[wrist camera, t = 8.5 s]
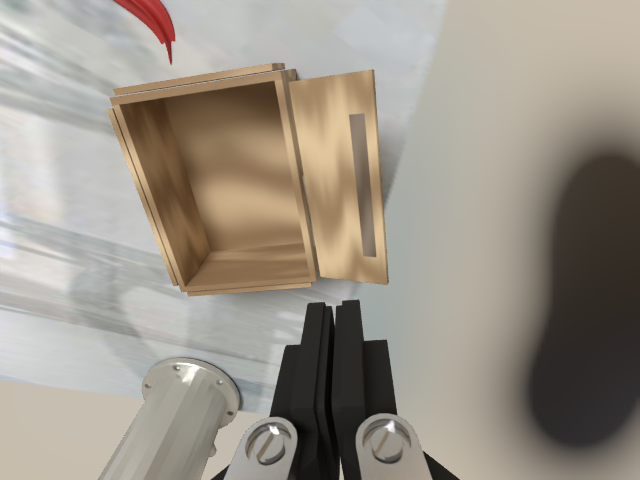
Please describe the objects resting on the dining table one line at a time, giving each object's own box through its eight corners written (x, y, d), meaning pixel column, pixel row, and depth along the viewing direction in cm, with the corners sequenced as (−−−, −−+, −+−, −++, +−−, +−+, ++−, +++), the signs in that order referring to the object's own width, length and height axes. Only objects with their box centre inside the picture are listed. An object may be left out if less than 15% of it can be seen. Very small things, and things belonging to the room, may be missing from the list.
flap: (322, 274, 29) (388, 281, 27) (320, 276, 29) (387, 285, 27) (291, 81, 23) (374, 69, 21) (288, 82, 23) (371, 70, 20)
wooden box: (324, 247, 36) (318, 286, 30) (206, 258, 38) (177, 297, 32) (295, 61, 29) (280, 62, 23) (150, 85, 31) (99, 91, 24)
